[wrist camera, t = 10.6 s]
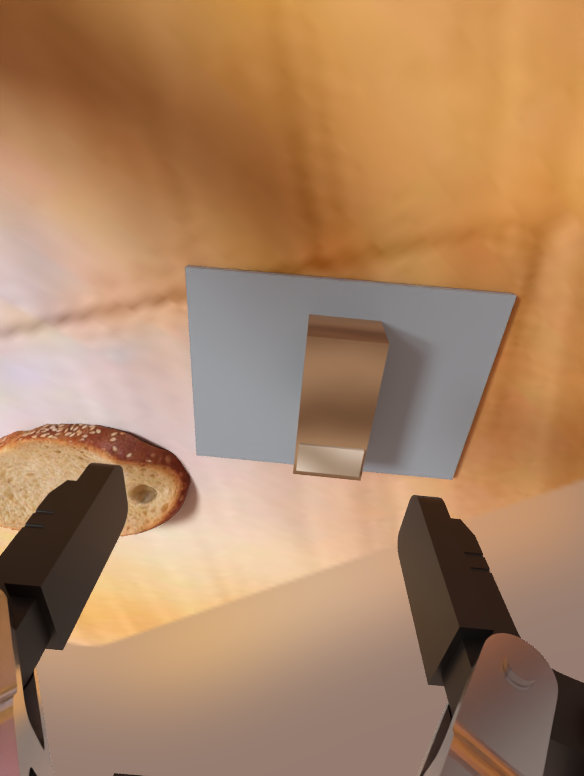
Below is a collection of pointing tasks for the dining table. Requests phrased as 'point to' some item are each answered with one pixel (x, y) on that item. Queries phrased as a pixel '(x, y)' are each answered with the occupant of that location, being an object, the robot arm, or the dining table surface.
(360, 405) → the brown rectangular block
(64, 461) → the bread slice
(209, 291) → the slate mat
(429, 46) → the dining table surface
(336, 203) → the dining table surface
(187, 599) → the dining table surface
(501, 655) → the robot arm
